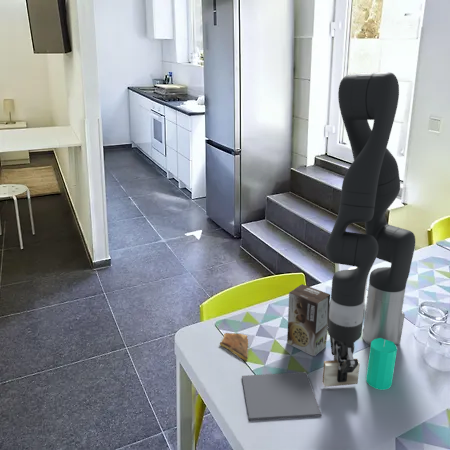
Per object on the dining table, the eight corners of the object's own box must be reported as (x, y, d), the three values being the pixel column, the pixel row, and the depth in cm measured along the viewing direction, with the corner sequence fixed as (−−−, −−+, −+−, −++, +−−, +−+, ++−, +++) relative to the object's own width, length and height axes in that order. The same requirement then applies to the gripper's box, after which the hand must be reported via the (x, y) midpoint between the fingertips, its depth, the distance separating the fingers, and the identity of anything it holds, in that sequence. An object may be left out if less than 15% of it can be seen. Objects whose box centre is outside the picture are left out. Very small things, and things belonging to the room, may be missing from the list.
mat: (306, 374, 115) (306, 372, 115) (321, 415, 102) (321, 413, 102) (242, 377, 114) (242, 375, 114) (249, 420, 101) (249, 418, 101)
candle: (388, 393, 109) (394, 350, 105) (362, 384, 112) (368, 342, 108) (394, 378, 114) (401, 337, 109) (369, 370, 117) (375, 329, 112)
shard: (247, 363, 120) (247, 357, 119) (217, 362, 121) (217, 356, 120) (248, 339, 130) (248, 333, 130) (221, 337, 131) (221, 332, 130)
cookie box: (327, 346, 126) (331, 294, 120) (313, 357, 122) (318, 303, 116) (299, 333, 132) (302, 283, 126) (285, 343, 127) (288, 291, 122)
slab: (354, 378, 112) (356, 358, 110) (357, 384, 110) (359, 363, 108) (322, 381, 111) (323, 361, 109) (324, 386, 109) (326, 366, 107)
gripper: (374, 332, 98) (366, 397, 104) (351, 298, 110) (345, 358, 117) (339, 335, 97) (333, 400, 104) (320, 301, 110) (316, 361, 116)
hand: (340, 378), depth 110 cm, fingers closed on slab, 1 cm apart
